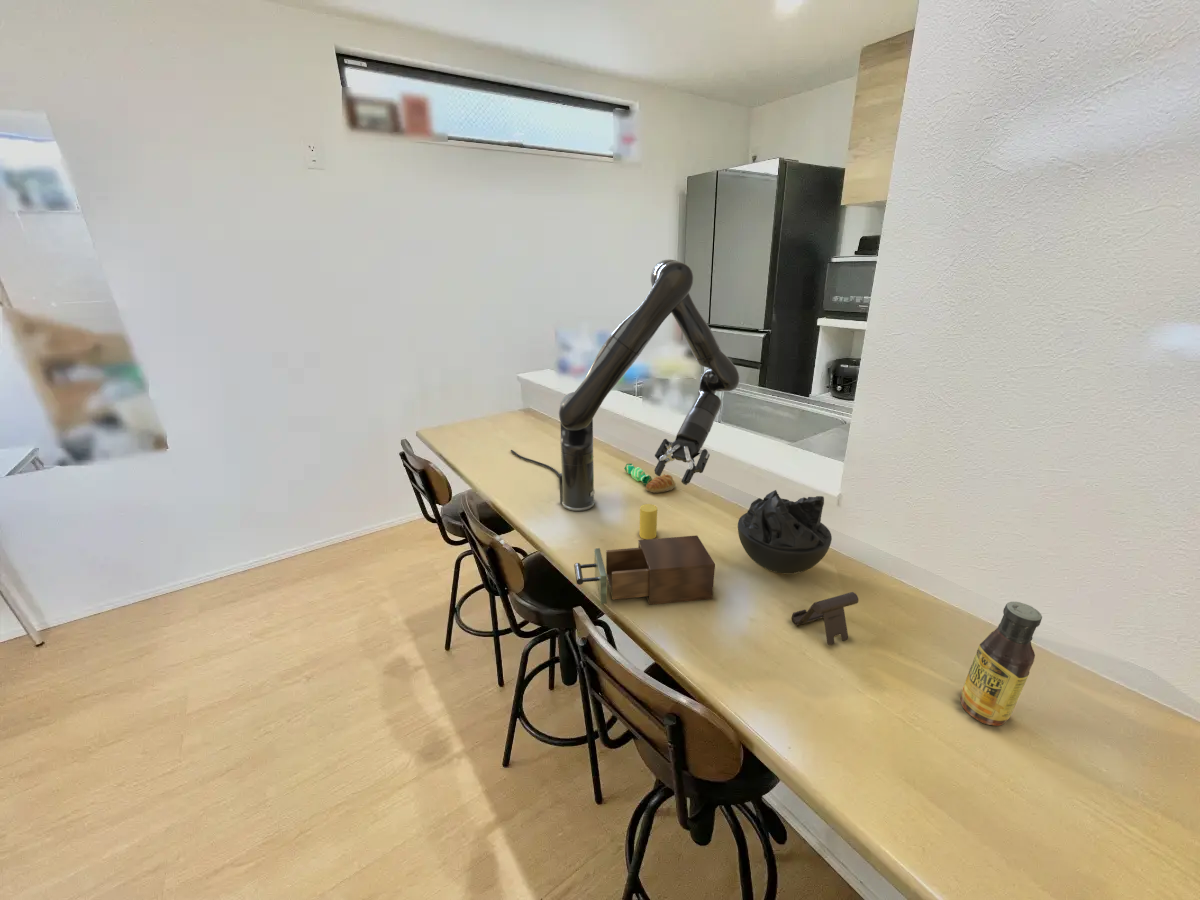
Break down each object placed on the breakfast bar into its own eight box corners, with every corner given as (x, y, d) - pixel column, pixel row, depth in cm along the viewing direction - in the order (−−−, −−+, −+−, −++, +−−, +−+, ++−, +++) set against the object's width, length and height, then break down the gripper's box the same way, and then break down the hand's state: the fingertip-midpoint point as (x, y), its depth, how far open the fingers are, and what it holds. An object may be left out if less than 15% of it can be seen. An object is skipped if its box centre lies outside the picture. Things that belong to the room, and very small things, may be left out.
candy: (622, 471, 166) (628, 460, 166) (629, 474, 168) (635, 464, 168) (640, 484, 156) (646, 473, 156) (647, 488, 158) (654, 477, 158)
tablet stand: (826, 611, 100) (832, 576, 97) (857, 636, 93) (865, 599, 90) (790, 621, 97) (796, 585, 94) (820, 648, 90) (827, 610, 87)
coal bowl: (720, 571, 113) (726, 497, 106) (752, 535, 128) (760, 468, 121) (810, 604, 101) (824, 524, 95) (834, 561, 116) (848, 488, 110)
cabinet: (649, 605, 102) (650, 569, 99) (637, 572, 113) (638, 540, 110) (712, 598, 104) (715, 564, 101) (695, 567, 114) (697, 535, 111)
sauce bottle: (949, 696, 80) (981, 594, 73) (985, 693, 80) (1020, 592, 73) (981, 732, 73) (1020, 624, 67) (1020, 729, 74) (1063, 621, 67)
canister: (636, 536, 128) (636, 508, 125) (645, 529, 131) (645, 502, 129) (650, 541, 126) (651, 513, 123) (659, 534, 129) (660, 506, 126)
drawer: (578, 606, 100) (577, 578, 98) (573, 576, 110) (572, 550, 108) (660, 598, 102) (661, 570, 100) (649, 570, 112) (649, 544, 110)
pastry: (655, 496, 150) (656, 485, 149) (640, 489, 155) (640, 478, 154) (677, 488, 155) (677, 477, 154) (661, 481, 160) (662, 470, 159)
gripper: (668, 415, 136) (642, 466, 132) (714, 426, 127) (688, 480, 123) (678, 429, 142) (653, 478, 138) (723, 440, 133) (698, 492, 129)
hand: (670, 479), depth 130 cm, fingers open, 8 cm apart
